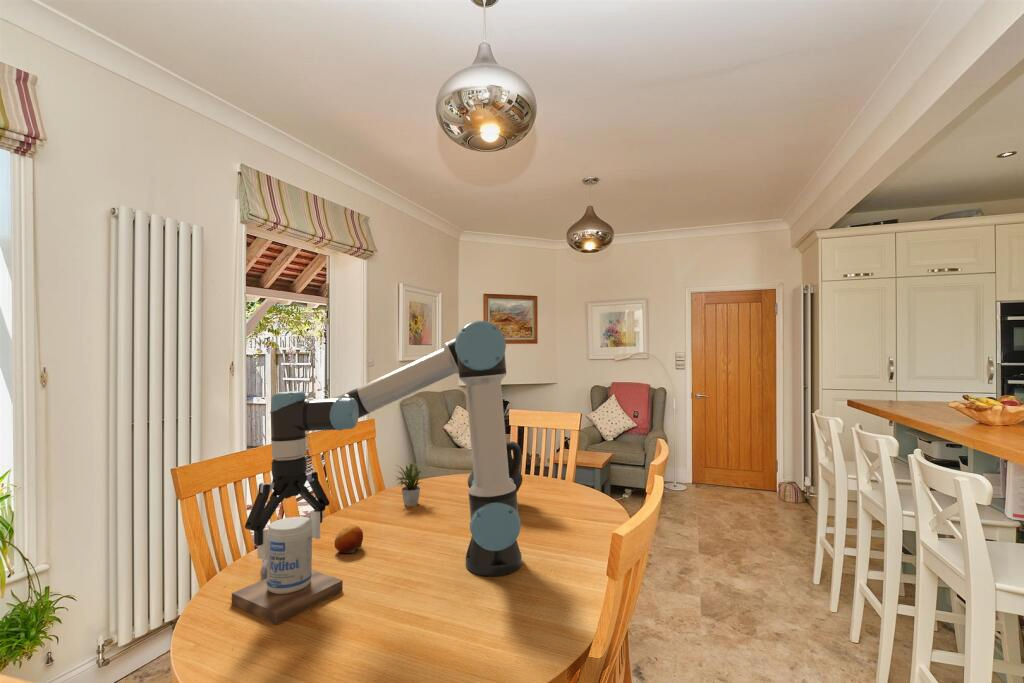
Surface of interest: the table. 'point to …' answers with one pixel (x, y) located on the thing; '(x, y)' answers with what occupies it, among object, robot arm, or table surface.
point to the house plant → (410, 485)
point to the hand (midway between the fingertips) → (290, 547)
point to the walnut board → (285, 598)
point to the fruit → (349, 539)
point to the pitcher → (509, 464)
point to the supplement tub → (289, 555)
